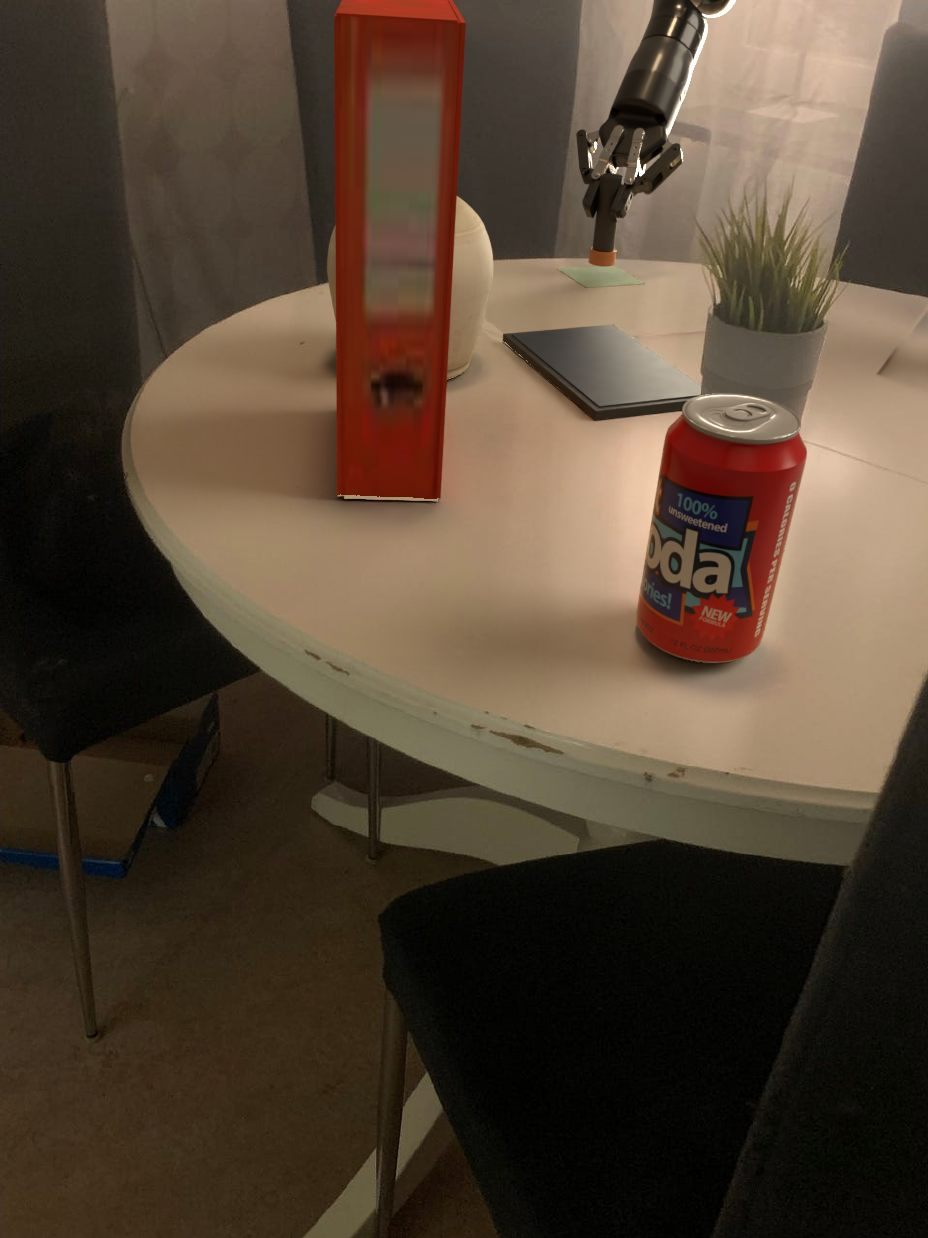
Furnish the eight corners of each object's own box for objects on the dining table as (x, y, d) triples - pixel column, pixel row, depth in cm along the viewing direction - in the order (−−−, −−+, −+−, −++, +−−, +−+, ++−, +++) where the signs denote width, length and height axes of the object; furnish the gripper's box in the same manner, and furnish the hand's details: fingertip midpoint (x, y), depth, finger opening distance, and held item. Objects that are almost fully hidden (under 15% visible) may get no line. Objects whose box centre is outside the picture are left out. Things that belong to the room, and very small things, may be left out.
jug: (435, 406, 97) (447, 100, 83) (296, 368, 103) (285, 77, 89) (514, 358, 108) (536, 81, 94) (385, 326, 114) (387, 62, 100)
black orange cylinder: (607, 258, 133) (617, 171, 127) (619, 265, 130) (630, 177, 125) (583, 259, 132) (593, 172, 126) (595, 267, 129) (606, 178, 124)
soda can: (786, 649, 67) (844, 424, 59) (697, 689, 63) (746, 454, 55) (695, 591, 72) (737, 377, 64) (608, 625, 68) (640, 402, 60)
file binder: (436, 411, 96) (452, -3, 78) (444, 502, 81) (466, 19, 64) (345, 409, 95) (340, -9, 77) (337, 500, 81) (328, 12, 63)
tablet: (613, 332, 116) (614, 323, 116) (719, 405, 100) (721, 395, 100) (502, 341, 112) (502, 332, 111) (594, 420, 96) (596, 410, 95)
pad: (613, 269, 136) (614, 264, 136) (644, 288, 130) (645, 283, 130) (556, 273, 134) (557, 268, 133) (585, 292, 128) (586, 287, 127)
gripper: (592, 60, 128) (539, 186, 125) (706, 73, 122) (652, 205, 120) (604, 104, 134) (554, 224, 132) (712, 118, 129) (661, 244, 127)
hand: (601, 215), depth 126 cm, fingers closed on black orange cylinder, 2 cm apart
